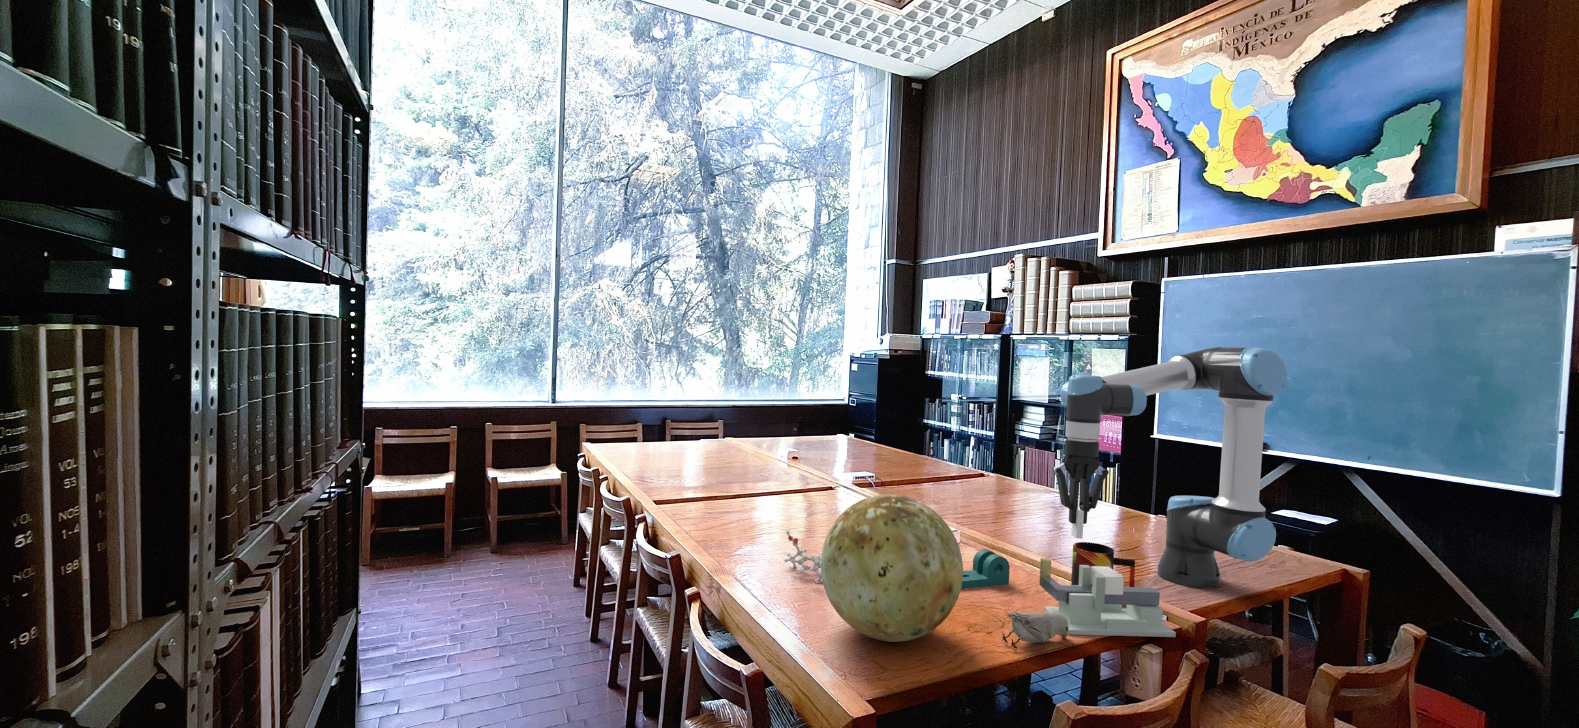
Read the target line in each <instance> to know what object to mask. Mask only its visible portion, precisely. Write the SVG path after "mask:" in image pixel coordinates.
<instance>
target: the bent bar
mask: <svg viewBox="0 0 1579 728" xmlns="http://www.w3.org/2000/svg"><path fill="white" fill-rule="evenodd" d="M1039 563H1040V564H1039V565H1040V567H1039V586H1040V587H1041V588H1042V589H1044V591H1046V592H1047V593H1048V594H1049V595H1050V596H1051V597H1052V598H1053V599H1054V600H1055V601H1057V602H1059V601H1064V602H1065V603H1069V593H1089V594H1092V586H1069V585H1070V584H1060V583H1058V582H1057V581H1056V580H1055V579H1054V578H1053V577H1052V560H1051V558H1049V557H1047V558H1046V557H1040V562H1039ZM1160 594H1161V593H1160V592H1159V590H1157V589H1155V588H1153V587H1141V586H1139V587H1138V586H1136V587H1135V586H1134V587H1129V586H1123V595H1112V594H1105V600H1104V604H1118V605H1122V606H1127V605H1156V606H1159V607H1160V600H1161V599H1160V597H1161V595H1160Z"/></svg>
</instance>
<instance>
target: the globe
mask: <svg viewBox="0 0 1579 728" xmlns="http://www.w3.org/2000/svg"><path fill="white" fill-rule="evenodd" d="M820 558H821V568H820V572H821V576H822V578H821V581H822V585H823V589H824V590H825V594H826V596H827V599H828V601H829V602H830V604H831V606H832V607H833V609H834V611H835V612H836V613H837V615H838V616H839V617H840V618H841V619H842V620H843V621H844V623H846V624H848V625H849V626H850V628H853V629H854V630H856V631H857V632H858V633H861V634H863V635H864V636H866V637H868V638H871V639H875V640H878V641H884V642H892V643H897V642H906V641H908V642H909V641H913V640H915V639H918V638H921V637H923V636H925V635H928V634H929V633H930V632H932V631H934V630H935V629H936V628H938V627H939V626H940V625H941V624H942V623H943V622H944V621H945V620H946V619H947V618H948V616H949V615H951V613H952V611H953V609H954V608H955V606H956V604H957V602H958V600H959V597H960V594H961V590H962V589H961V587H962V580H963V571H964V567H963V565H964V564H963V558H962V553H961V549H960V546H959V543H958V541H957V539H956V537H955V534H954V532H953V530H952V529H951V528H950V526H949V525H948V524H947V522H946V521H945V520H944V518H942V517H941V516H940V515H939V514H938V513H937V512H936V511H935V510H934V509H932V508H931V507H930V506H928V505H926V504H925V503H923V502H921V501H919V500H918V499H917V500H916V499H914V498H912V497H908V496H904V495H899V494H877V495H873V496H869V497H866V498H863V499H862V500H858V501H857V502H855V503H853V504H852V505H850V506H849V507H848V508H847V509H845V510H844V511H843V512H842V513H841V514H840V515H839V516H838V517H837V518H836V519H835V521H834V522H833V524H832V525H831V527H830V528H829V530H828V532H827V534H826V537H825V539H824V541H823V545H822V550H821V556H820Z"/></svg>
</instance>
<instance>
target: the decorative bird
mask: <svg viewBox="0 0 1579 728" xmlns="http://www.w3.org/2000/svg"><path fill="white" fill-rule="evenodd" d="M1006 615H1007V618H1010V619H1011V626H1012V627H1011V630H1010V631H1009V633H1008V634H1007V635H1005V634H1004V633H1002V640H1001V641H1004V642H1005V643H1006V644H1009V641H1008V640H1007V638H1009V637H1010V636H1011V635H1012V634H1014V633H1015V635H1016V636H1017V638H1018V639H1017V640H1016V641H1014V640H1013V639H1011V644H1010V647H1013V648H1014V650H1018V648H1017V646H1016V644H1017V643H1018V642H1019V641H1020V640H1021V641H1023V642H1028V643H1047V642H1048V641H1049V640H1051V639H1052V638H1055V637H1056V636H1060V637H1061V638H1063V639H1067V636H1069V634H1068V630H1069V626H1068V622H1067V620H1066V618H1065V617H1064V616H1063V615H1062V614H1059V613H1046V612H1035V611H1034V612H1025V613H1023V612H1017V611H1014V612H1011V611H1010V612H1006Z"/></svg>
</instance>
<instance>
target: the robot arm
mask: <svg viewBox="0 0 1579 728" xmlns="http://www.w3.org/2000/svg"><path fill="white" fill-rule="evenodd" d="M1287 371H1288V370H1287V367H1286V364H1285V362H1284V360H1283V359H1282V358H1281V357H1280V355H1279V354H1278V353H1276V351H1273V350H1272V349H1268V348H1263V347H1261V348H1260V347H1254V346H1252V347H1221V346H1220V347H1219V346H1218V347H1208V348H1205V349H1200V350H1196V351H1192V352H1189V353H1184V354H1180V355H1176V356H1172V357H1171V358H1170V359H1169V360H1168V361H1166V362H1163V363H1158V364H1154V365H1149V366H1145V367H1140V368H1136V369H1130V370H1126V371H1122V372H1117V373H1113V374H1108V375H1103V376H1101V375H1090V374H1088V375H1087V374H1084V375H1083V374H1073V375H1071V376H1069V378H1068V381H1066V382H1065V383H1064V384H1063V385H1062V386H1061V389H1060V391H1059V394H1060V401H1061V402H1062V404H1063V405H1064V406H1065V407H1066V419H1065V434H1064V435H1065V437H1066V439H1065V440H1064V452H1063V453H1064V457H1063V459H1062V462H1061V463H1060V464H1059V465H1057V466H1056V465H1053V466H1052V471H1053V473H1054V475H1055V476H1056V481H1057V483H1056V484H1057V488H1058V492H1059V498H1060V504H1061V505H1062V506H1064V507H1065V508H1067V509H1068V522H1069V523H1071V535H1070V536H1072V537H1073V538H1075V539H1081V540H1082V539H1083V535H1084V534H1083V533H1084V525H1086V524H1087V523H1088V512H1091V510H1092V509H1093V510H1094V509H1096V507H1097V505H1098V501H1099V498H1100V496H1101V495H1100V494H1101V491H1102V489H1103V484H1104V482H1105V479H1107V476H1108V475H1109V470H1108V469H1105V468H1104V467H1102V466H1101V465H1100V461H1099V459H1098V458H1099V453H1100V442H1099V441H1098V440H1100V433H1101V417H1102V416H1106V415H1107V416H1126V417H1129V416H1138V415H1140V414H1142V413H1143V412H1144V411H1145V409H1146V407H1147V400H1148V398H1147V396H1151V395H1155V394H1160V393H1163V392H1164V393H1165V392H1168V391H1172V390H1179V391H1183V392H1184V391H1189V390H1211V391H1218V399H1219V400H1220V401H1221V402H1222V403H1223V404H1224V414H1223V428H1222V429H1223V430H1222V442H1221V443H1222V444H1221V446H1222V447H1221V457H1220V458H1221V459H1220V473H1219V489H1218V490H1219V491H1218V495H1217V497H1211V496H1200V495H1174V496H1170V498H1169V500H1168V501H1167V503H1168V504H1167V508H1166V534H1165V535H1166V536H1165V537H1166V538H1165V539H1166V541H1165V549H1164V550H1163V553H1162V555H1161V557H1160V559H1159V562H1158V563H1157V575H1158V576H1159V577H1161V578H1163V579H1165V580H1167V581H1169V582H1172V583H1174V584H1180V585H1184V586H1187V587H1188V586H1189V587H1193V588H1203V589H1208V588H1210V589H1211V588H1217V587H1220V586H1221V582H1222V577H1221V573H1220V568H1219V565H1218V563H1217V559H1216V556H1215V553H1216V552H1217V553H1221V554H1223V555H1226V556H1229V557H1230V558H1233V559H1234V560H1235V559H1236V560H1242V561H1244V562H1257V561H1260V560H1262V559H1264V558H1265V557H1266V556H1267V555H1268V554H1269V553H1270V552H1271V551H1272V549H1273V548H1274V545H1275V543H1276V538H1277V531H1276V527H1275V526H1274V524H1273V522H1271V521H1270V520H1269V519H1267V518H1266V507H1265V506H1263V505H1262V504H1261V502H1260V489H1261V475H1262V474H1261V473H1262V462H1263V461H1262V460H1263V459H1262V458H1263V448H1264V447H1263V446H1264V445H1263V444H1264V434H1265V433H1264V430H1265V417H1266V408H1267V407H1268V406H1269V405H1271V404H1273V403H1274V396H1275V395H1277V394H1280V393H1281V392H1282V391H1283V390H1284V389H1283V388H1284V387H1286V384H1287V381H1288V372H1287ZM1066 472H1067V474H1068V479H1069V490H1068V483H1067V480H1066V479H1067V478H1066V476H1065V473H1066ZM1093 474H1095V475H1094V477H1093V481H1092V476H1093ZM1078 507H1079V508H1078Z"/></svg>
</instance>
